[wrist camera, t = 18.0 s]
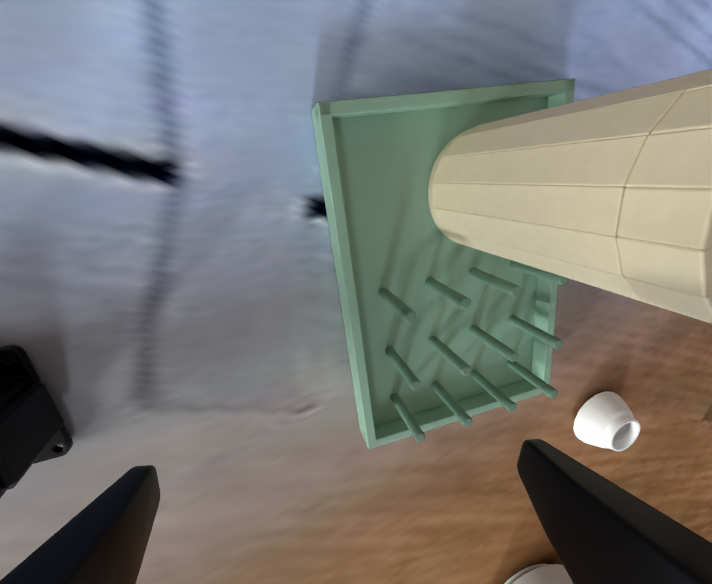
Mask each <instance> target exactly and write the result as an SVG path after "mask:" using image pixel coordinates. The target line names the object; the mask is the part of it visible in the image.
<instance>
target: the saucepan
mask: <svg viewBox="0 0 712 584" xmlns="http://www.w3.org/2000/svg"><path fill="white" fill-rule="evenodd" d="M504 584H573V582H572V580H571V578H570V577H569V575H568V573H567V571H566V569H565V568H564V566H563V565H560V564H550V565H549V564H536V565H532V566H529V567H527V568H525V569H523V570H521V571H519V572H518V573H516V574H515V575H513V576H512V577H511V578H510V579H508V580H507V581H506V582H505V583H504Z"/></svg>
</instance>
